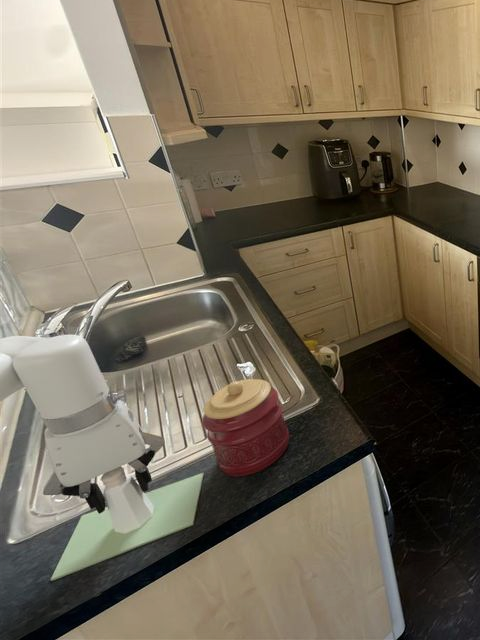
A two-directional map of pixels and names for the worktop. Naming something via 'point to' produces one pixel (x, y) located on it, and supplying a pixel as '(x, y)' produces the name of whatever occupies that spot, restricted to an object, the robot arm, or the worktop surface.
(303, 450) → the worktop surface
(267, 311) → the worktop surface
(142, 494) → the pepper shaker
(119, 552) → the mat
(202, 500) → the worktop surface
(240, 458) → the kitchen canister
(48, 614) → the worktop surface
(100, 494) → the robot arm
